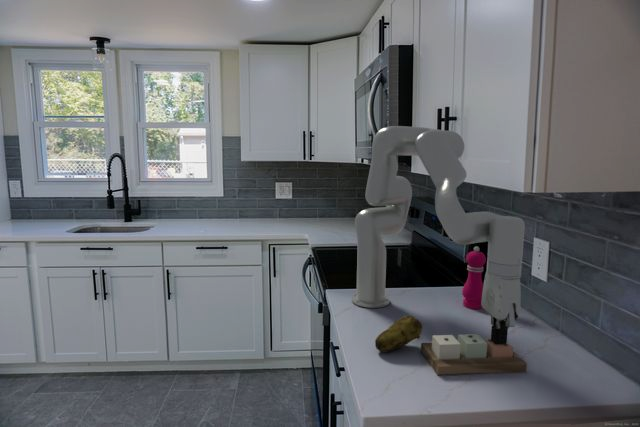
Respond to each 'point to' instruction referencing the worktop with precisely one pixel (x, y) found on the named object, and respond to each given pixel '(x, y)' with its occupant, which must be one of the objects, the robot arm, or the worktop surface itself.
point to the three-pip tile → (498, 349)
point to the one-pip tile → (445, 347)
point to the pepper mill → (474, 280)
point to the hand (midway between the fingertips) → (498, 342)
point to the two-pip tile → (472, 346)
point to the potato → (399, 334)
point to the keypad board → (473, 364)
